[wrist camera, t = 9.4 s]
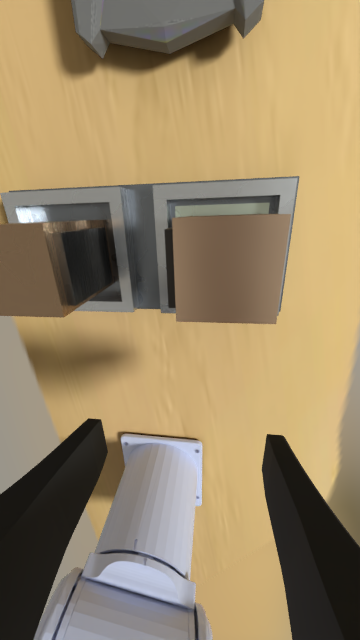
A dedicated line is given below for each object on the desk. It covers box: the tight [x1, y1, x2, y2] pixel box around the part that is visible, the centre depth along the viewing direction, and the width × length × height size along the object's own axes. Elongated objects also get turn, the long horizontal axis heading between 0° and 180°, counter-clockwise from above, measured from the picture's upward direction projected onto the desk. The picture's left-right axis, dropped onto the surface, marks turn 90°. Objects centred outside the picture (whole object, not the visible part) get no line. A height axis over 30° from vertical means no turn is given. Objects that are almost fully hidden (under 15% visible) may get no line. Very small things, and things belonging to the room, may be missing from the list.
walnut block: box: [164, 214, 291, 324], centre depth 12 cm, size 4×4×6 cm
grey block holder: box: [0, 176, 299, 317], centre depth 13 cm, size 8×17×8 cm, turn 92°
